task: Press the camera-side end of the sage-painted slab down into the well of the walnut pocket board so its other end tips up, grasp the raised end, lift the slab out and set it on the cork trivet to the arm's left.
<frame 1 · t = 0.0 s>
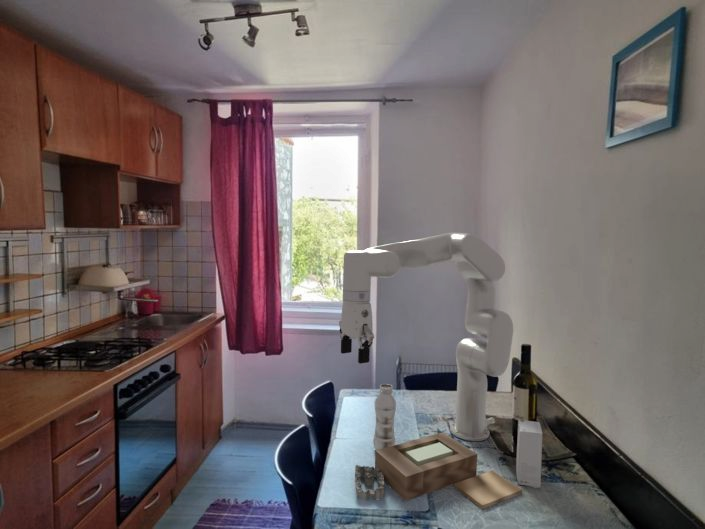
hand: (354, 357, 121), 31 cm above the table, fingers open, 9 cm apart
slab: (428, 459, 121), point 4 cm above the table, touching pocket board
egg carton: (368, 489, 114), on the table
skincare box: (527, 479, 120), on the table
trivet: (487, 490, 114), on the table
plastic bottle: (383, 450, 133), on the table
pocket board: (425, 474, 120), on the table
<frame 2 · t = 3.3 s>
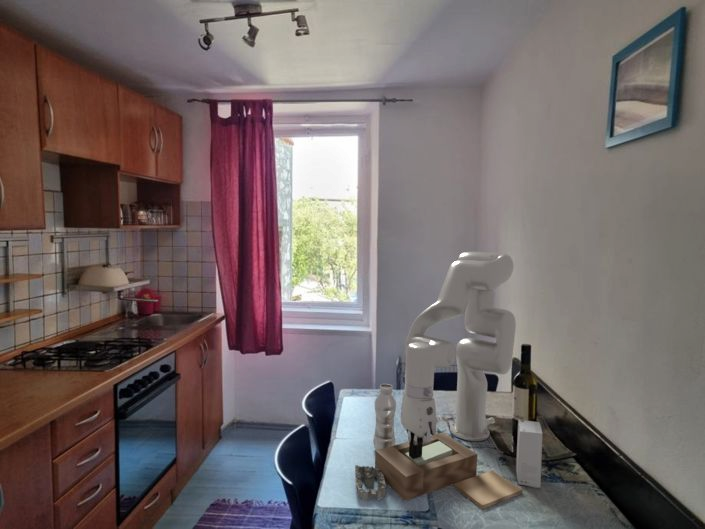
hand: (415, 456, 118), 6 cm above the table, fingers closed
slab: (428, 459, 121), point 4 cm above the table, touching gripper, pocket board
everything else where it was.
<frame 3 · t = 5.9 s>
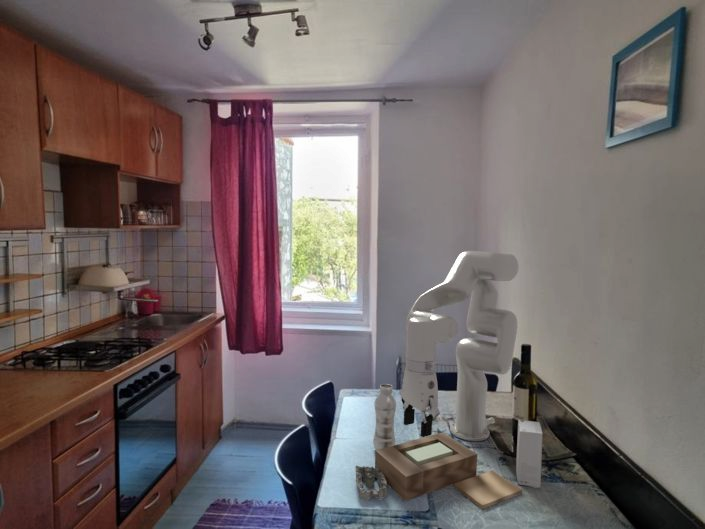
hand: (417, 429, 118), 14 cm above the table, fingers open, 6 cm apart
slab: (428, 459, 121), point 4 cm above the table, touching pocket board
everything else where it was.
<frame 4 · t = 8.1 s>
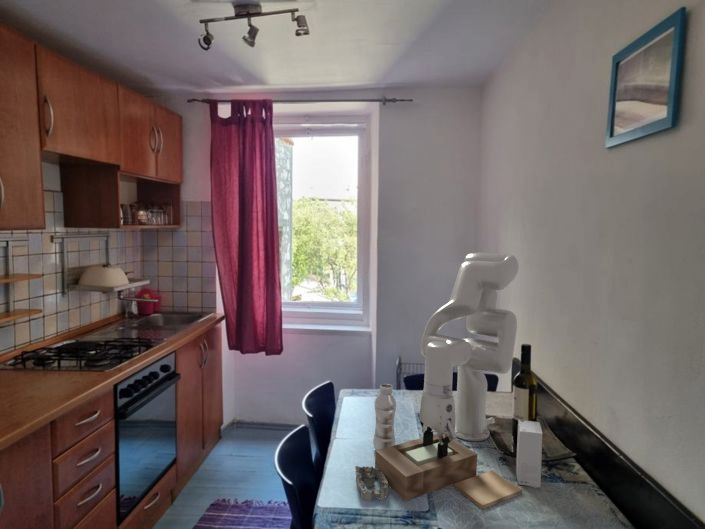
hand: (434, 450, 121), 6 cm above the table, fingers closed on slab, 5 cm apart
slab: (428, 459, 121), point 4 cm above the table, touching gripper, pocket board
everything else where it was.
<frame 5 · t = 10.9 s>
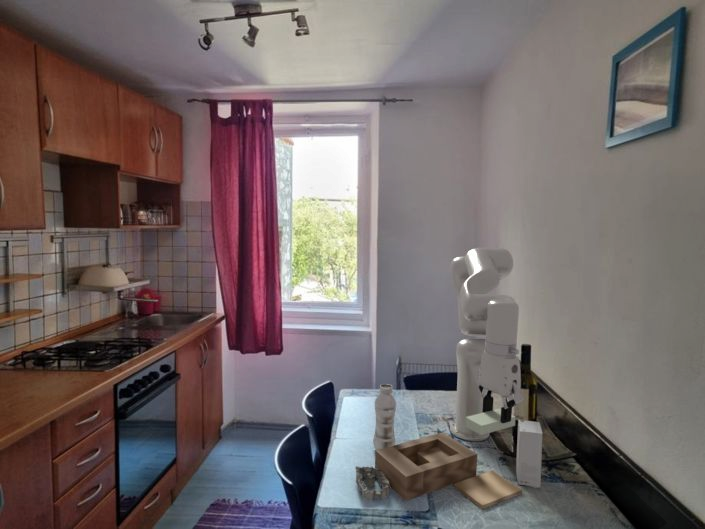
hand: (496, 416, 113), 19 cm above the table, fingers closed on slab, 5 cm apart
slab: (490, 425, 113), point 17 cm above the table, touching gripper
everything else where it was.
when the fingers open (7 cm above the table, at t = 13.6 s): slab drops 4 cm, resting on trivet.
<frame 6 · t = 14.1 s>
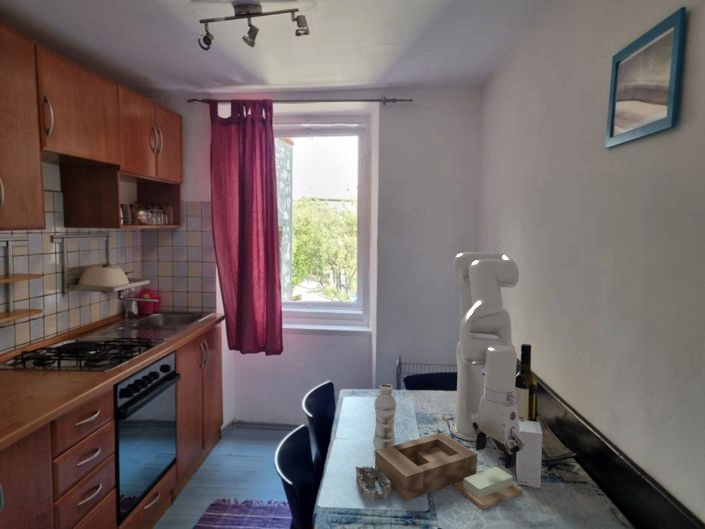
hand: (494, 457, 114), 8 cm above the table, fingers open, 9 cm apart
slab: (487, 486, 114), point 1 cm above the table, touching trivet
everything else where it was.
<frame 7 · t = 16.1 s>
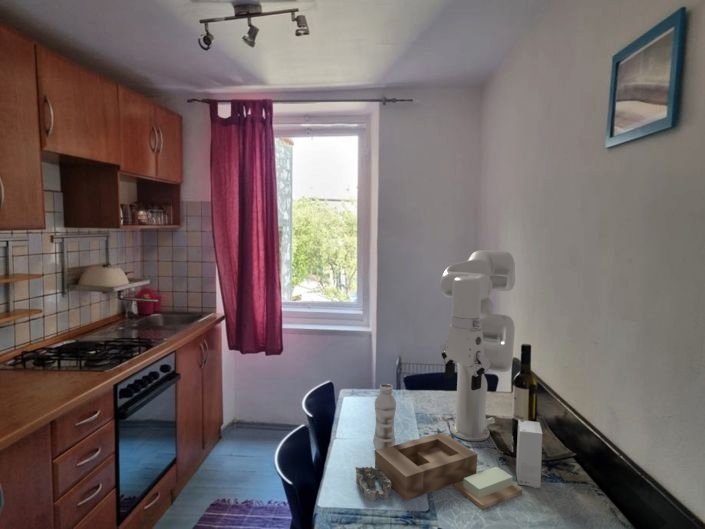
hand: (462, 382, 121), 25 cm above the table, fingers open, 9 cm apart
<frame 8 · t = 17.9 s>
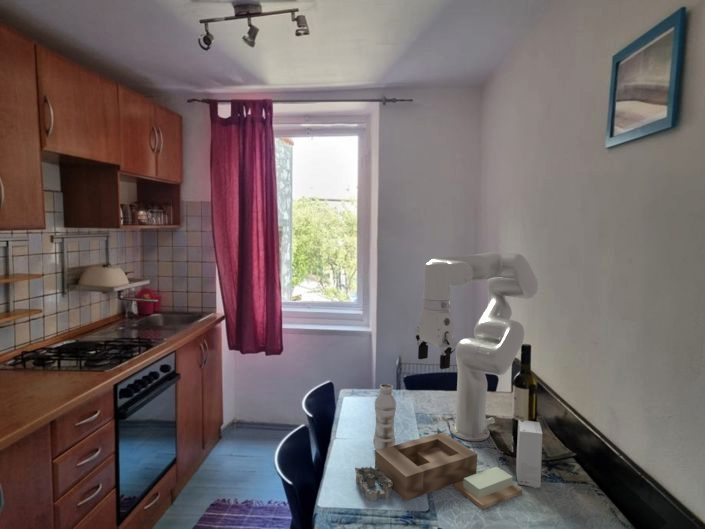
hand: (433, 363, 127), 28 cm above the table, fingers open, 9 cm apart
at the end: slab inside the target area on the trivet (0.2 cm from its centre), point 1.0 cm above the trivet's base; slab touching trivet; the gripper is holding nothing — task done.
